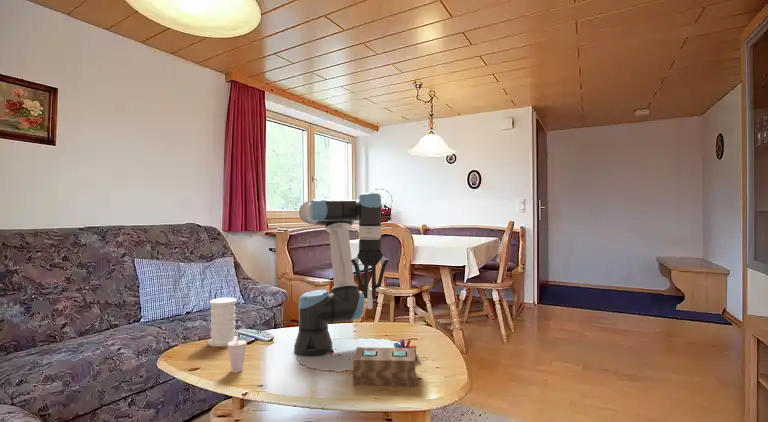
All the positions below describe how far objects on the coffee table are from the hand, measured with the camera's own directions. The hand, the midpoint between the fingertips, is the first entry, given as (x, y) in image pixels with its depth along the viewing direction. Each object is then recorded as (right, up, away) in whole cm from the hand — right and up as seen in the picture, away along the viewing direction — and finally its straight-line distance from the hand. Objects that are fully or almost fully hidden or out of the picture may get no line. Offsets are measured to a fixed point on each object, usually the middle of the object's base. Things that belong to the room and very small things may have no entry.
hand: (369, 307), depth 133 cm
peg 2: (+10, -23, -2) cm, 25 cm away
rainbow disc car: (+13, -23, +16) cm, 31 cm away
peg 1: (0, -23, -2) cm, 23 cm away
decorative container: (-65, -24, +36) cm, 78 cm away
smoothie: (-47, -23, +5) cm, 53 cm away
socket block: (+5, -23, -2) cm, 23 cm away
